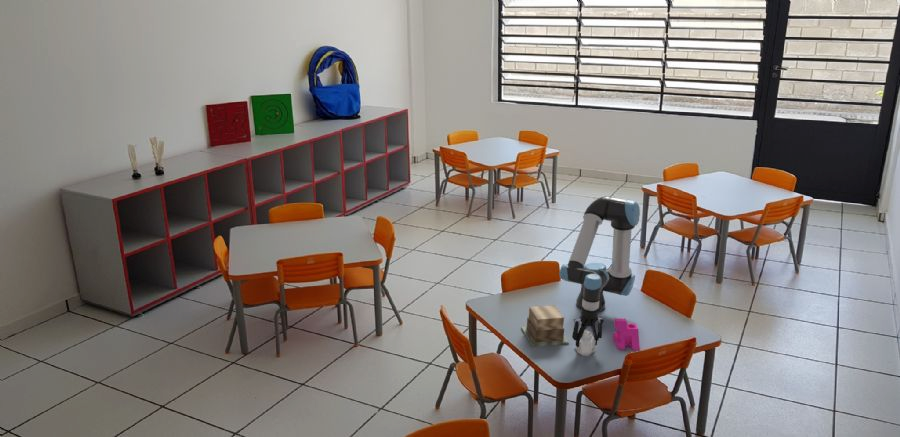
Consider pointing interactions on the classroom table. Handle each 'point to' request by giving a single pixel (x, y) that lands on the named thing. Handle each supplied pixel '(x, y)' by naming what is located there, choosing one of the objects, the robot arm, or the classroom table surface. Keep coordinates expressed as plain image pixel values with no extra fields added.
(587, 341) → the seated beast figurine
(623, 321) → the bracket
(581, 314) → the robot arm
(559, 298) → the classroom table surface
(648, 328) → the classroom table surface
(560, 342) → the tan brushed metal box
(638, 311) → the classroom table surface
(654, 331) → the classroom table surface
